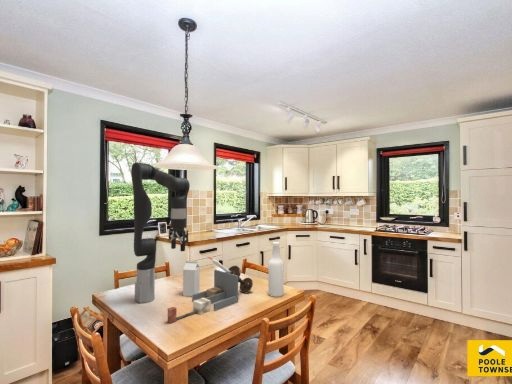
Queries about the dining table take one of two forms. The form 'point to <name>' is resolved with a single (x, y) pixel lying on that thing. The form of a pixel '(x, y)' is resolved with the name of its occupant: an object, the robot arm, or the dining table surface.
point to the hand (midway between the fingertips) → (178, 249)
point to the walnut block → (213, 291)
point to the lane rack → (228, 290)
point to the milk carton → (191, 278)
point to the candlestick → (245, 283)
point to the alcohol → (276, 273)
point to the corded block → (198, 307)
